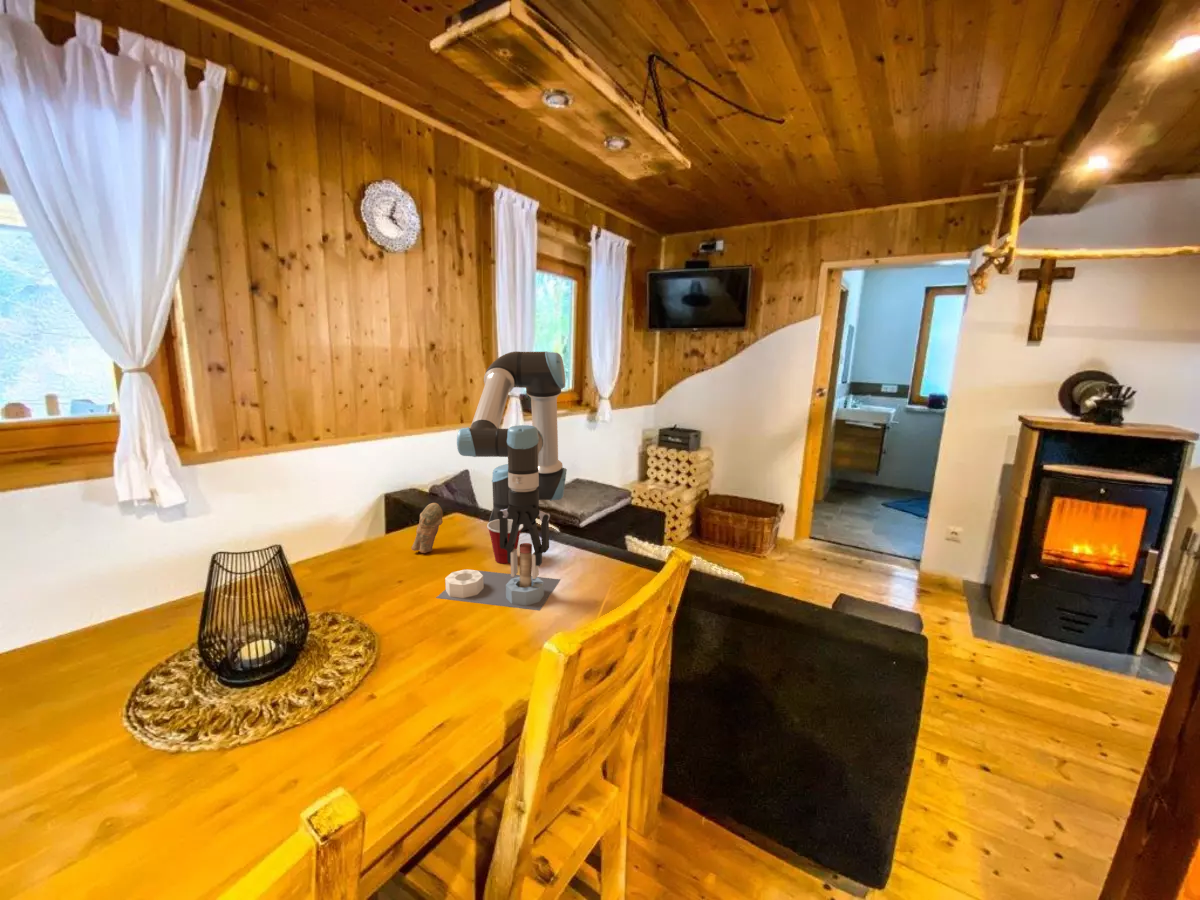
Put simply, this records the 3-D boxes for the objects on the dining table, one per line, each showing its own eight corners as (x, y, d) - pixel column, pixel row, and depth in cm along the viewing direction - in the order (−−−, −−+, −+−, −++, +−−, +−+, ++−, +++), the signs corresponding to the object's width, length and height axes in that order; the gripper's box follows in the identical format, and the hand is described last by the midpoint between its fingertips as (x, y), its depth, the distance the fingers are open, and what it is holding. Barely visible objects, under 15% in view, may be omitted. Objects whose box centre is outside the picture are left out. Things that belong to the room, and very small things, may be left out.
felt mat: (468, 570, 145) (468, 569, 145) (560, 580, 139) (560, 579, 139) (435, 599, 128) (435, 597, 128) (539, 611, 122) (539, 610, 122)
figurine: (410, 553, 157) (407, 508, 154) (426, 544, 164) (423, 501, 162) (433, 557, 154) (430, 510, 152) (448, 548, 162) (446, 503, 159)
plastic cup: (511, 571, 145) (510, 532, 143) (480, 565, 149) (479, 526, 147) (530, 557, 155) (530, 521, 153) (501, 552, 159) (500, 516, 157)
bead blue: (515, 587, 134) (515, 574, 134) (547, 590, 132) (547, 578, 132) (501, 602, 125) (501, 589, 125) (536, 606, 124) (535, 593, 123)
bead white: (457, 580, 138) (456, 568, 137) (487, 584, 136) (487, 571, 135) (440, 595, 129) (439, 582, 128) (472, 599, 127) (472, 586, 126)
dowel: (521, 593, 131) (522, 542, 128) (533, 594, 130) (533, 543, 128) (517, 598, 128) (517, 546, 125) (528, 599, 127) (529, 547, 125)
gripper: (483, 489, 122) (485, 578, 126) (553, 494, 118) (554, 585, 122) (495, 482, 129) (497, 566, 133) (562, 486, 125) (562, 573, 130)
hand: (524, 575), depth 128 cm, fingers open, 5 cm apart
